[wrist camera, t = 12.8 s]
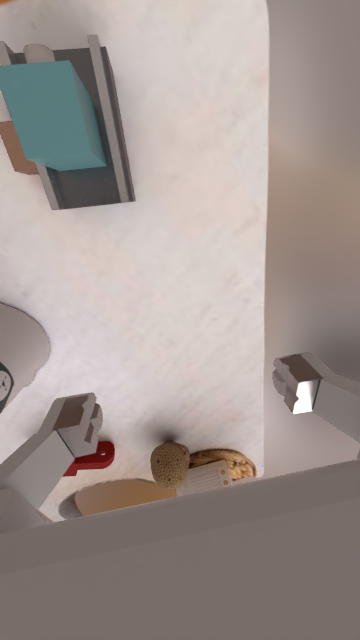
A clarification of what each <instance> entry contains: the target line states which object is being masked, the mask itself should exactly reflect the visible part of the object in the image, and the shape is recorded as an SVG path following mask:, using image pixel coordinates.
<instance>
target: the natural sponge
mask: <svg viewBox="0 0 360 640" xmlns="http://www.w3.org/2000/svg"><path fill="white" fill-rule="evenodd" d="M189 461H190V453H189V450H188V448H187V447H186V446H184V445H182V444H179V443H176V442H171V441H169V442H166V443H164V444H162V445H160V446H158V447H156V448H155V449H154V451H153V452H152V455H151V460H150V462H151V470H152V474H153V477H154V480H155V481H156V483H157V484H158V485H159V486H160V487H162V488H163V489H166V490H172V489H177V488H179V487H180V486H181V485H182V484H183V482H184V480H185V478H186V476H187V472H188V467H189Z"/></svg>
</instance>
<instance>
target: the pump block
mask: <svg viewBox="0 0 360 640" xmlns="http://www.w3.org/2000/svg"><path fill="white" fill-rule="evenodd" d="M23 51H24V54H25V58H26V61H27V64H16V65H3V66H0V88H1V91H2V94H3V96H4V99H5V102H6V105H7V107H8V110H9V113H10V116H11V118H12V121H13V124H14V127H15V129H16V132H17V135H18V138H19V140H20V143H21V146H22V149H23V151H24V154H25V157H26V159H27V160H30V161H32V162H35V163H38V164H41V165H44V166H47V167H50V168H53V169H56V170H58V171H65V170H75V169H85V168H94V167H104V166H107V162H106V157H105V152H104V148H103V143H102V138H101V134H100V129H99V125H98V120H97V115H96V111H95V106H94V102H93V100H92V99H91V97H90V95H89V94H88V92H87V90H86V88H85V87H84V85H83V83H82V81H81V80H80V78H79V76H78V75H77V73H76V71H75V69H74V68H73V66H72V64H71V62H70V61H69V60H67V61H55V57H54V53H53V51H52V50H51V49H49V48H48V47H46V46H43V45H39V44H30V45H27V46H25V47H24V49H23Z"/></svg>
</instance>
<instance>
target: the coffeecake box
mask: <svg viewBox="0 0 360 640" xmlns="http://www.w3.org/2000/svg"><path fill="white" fill-rule="evenodd" d="M227 486H232V481H231V478H230V475H229V471H228V468H227V465H226V461H225V459H223V460H220V461H216V462H213V463H209V464H206V465H202V466H199V467H195V468H191V469H188V472H187V476H186V478H185V480H184V482H183V484H182V485H181V486H180V487H179V488H177V497H179V496H184V495H188V494H193V493H198V492H203V491H208V490H212V489H217V488H222V487H227Z"/></svg>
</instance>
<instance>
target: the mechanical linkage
mask: <svg viewBox="0 0 360 640" xmlns="http://www.w3.org/2000/svg"><path fill="white" fill-rule="evenodd" d="M104 453H105V455H101V454H104ZM114 455H115V448H114V445H113V444H112V443H111V442H109V441H106V442H98V444H97V449H96V453H93V454H89V455H84V456H80V457H75V459H74V461H73V462H72V463H71V465H70V466H69V468H68V469H67V470H66V472H65V473H64V475H63V476H76V474H77V470H86V469H104V468H106V467H108V466H109V465H110V464H111V463H112V462H113V460H114Z"/></svg>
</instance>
